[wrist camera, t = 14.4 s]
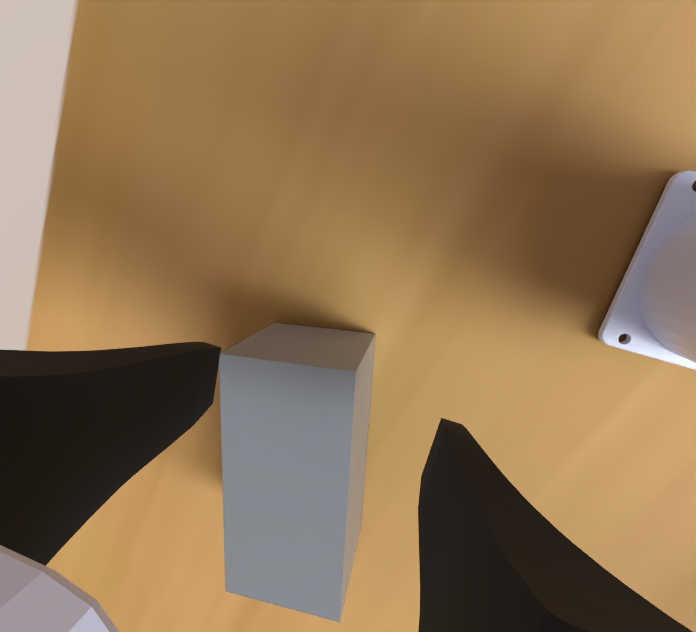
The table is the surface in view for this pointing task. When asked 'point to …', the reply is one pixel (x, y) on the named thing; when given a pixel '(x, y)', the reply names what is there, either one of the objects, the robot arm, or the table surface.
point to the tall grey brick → (294, 463)
